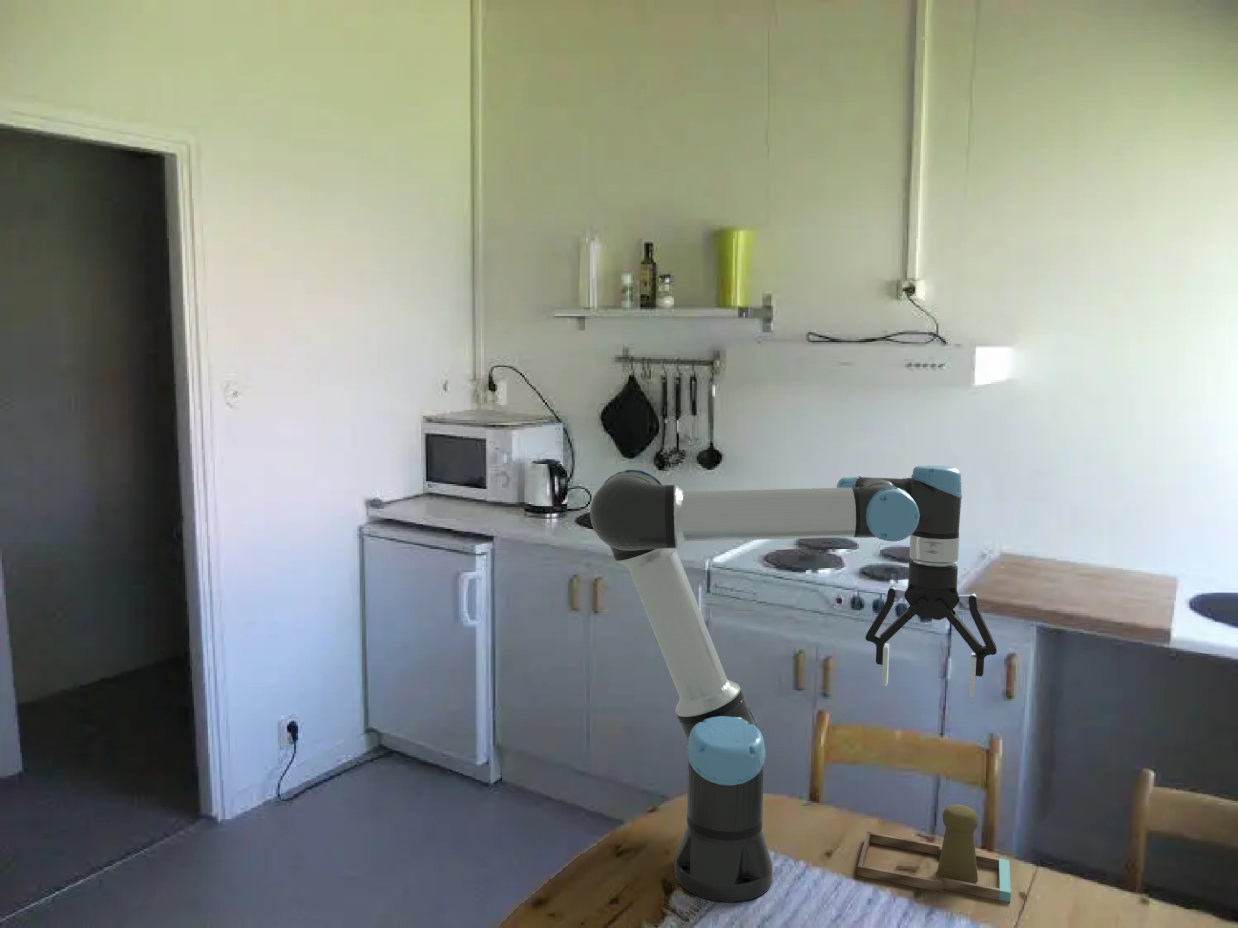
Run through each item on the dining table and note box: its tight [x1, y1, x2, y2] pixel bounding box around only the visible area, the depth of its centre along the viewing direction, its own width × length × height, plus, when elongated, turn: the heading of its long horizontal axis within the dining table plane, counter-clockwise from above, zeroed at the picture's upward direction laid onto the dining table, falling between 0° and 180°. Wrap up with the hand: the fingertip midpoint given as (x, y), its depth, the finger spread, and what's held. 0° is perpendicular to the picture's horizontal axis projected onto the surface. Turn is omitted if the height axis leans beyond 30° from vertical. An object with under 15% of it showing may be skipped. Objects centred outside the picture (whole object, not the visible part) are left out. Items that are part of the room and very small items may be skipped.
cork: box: [936, 803, 979, 884], centre depth 147 cm, size 6×6×11 cm
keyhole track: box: [857, 831, 1012, 903], centre depth 149 cm, size 22×12×2 cm, turn 69°
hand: (927, 689), depth 154 cm, fingers open, 13 cm apart
